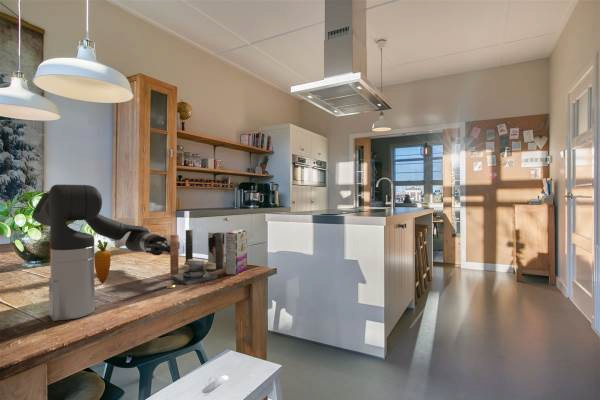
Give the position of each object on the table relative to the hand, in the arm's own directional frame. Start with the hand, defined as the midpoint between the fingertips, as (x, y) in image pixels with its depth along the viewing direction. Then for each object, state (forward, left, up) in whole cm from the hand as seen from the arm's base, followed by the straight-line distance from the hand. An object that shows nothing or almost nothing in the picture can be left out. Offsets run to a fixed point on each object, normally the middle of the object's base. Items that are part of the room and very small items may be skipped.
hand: (174, 250), depth 111 cm
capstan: (+8, -1, -8) cm, 12 cm away
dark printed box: (+23, +11, -12) cm, 28 cm away
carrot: (-18, +16, -12) cm, 27 cm away
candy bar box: (+25, -1, -12) cm, 28 cm away
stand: (+5, +1, -11) cm, 12 cm away
